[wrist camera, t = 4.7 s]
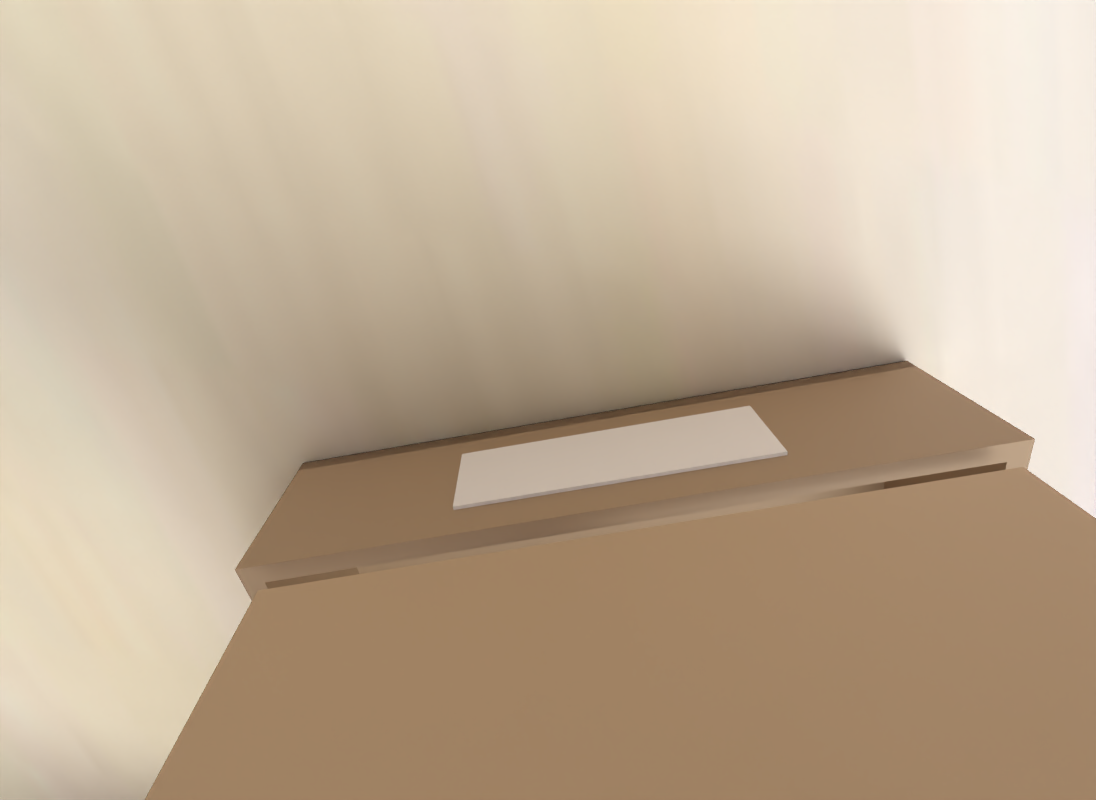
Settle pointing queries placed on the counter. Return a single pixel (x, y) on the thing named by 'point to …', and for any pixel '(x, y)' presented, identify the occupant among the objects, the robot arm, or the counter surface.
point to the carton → (626, 472)
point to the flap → (683, 663)
